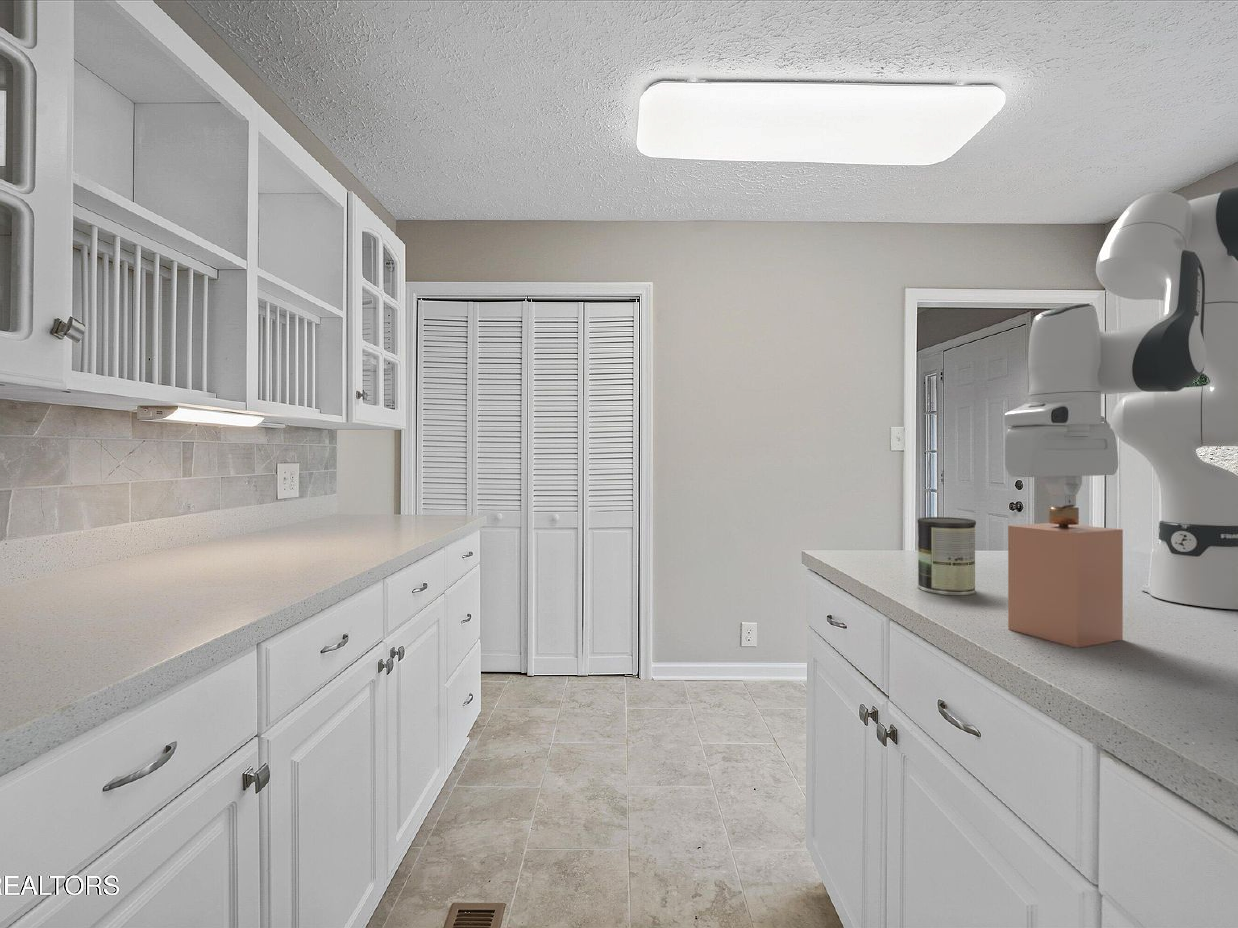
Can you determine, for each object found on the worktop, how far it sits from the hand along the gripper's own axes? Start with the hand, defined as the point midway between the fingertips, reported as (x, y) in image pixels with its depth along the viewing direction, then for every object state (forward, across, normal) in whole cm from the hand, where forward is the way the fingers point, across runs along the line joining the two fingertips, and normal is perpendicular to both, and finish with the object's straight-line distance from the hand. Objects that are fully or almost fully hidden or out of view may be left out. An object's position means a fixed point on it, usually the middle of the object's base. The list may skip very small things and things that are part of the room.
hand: (1063, 507), depth 91 cm
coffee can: (+19, -10, -29) cm, 36 cm away
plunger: (+13, 0, 0) cm, 13 cm away
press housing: (+19, 0, 0) cm, 19 cm away
